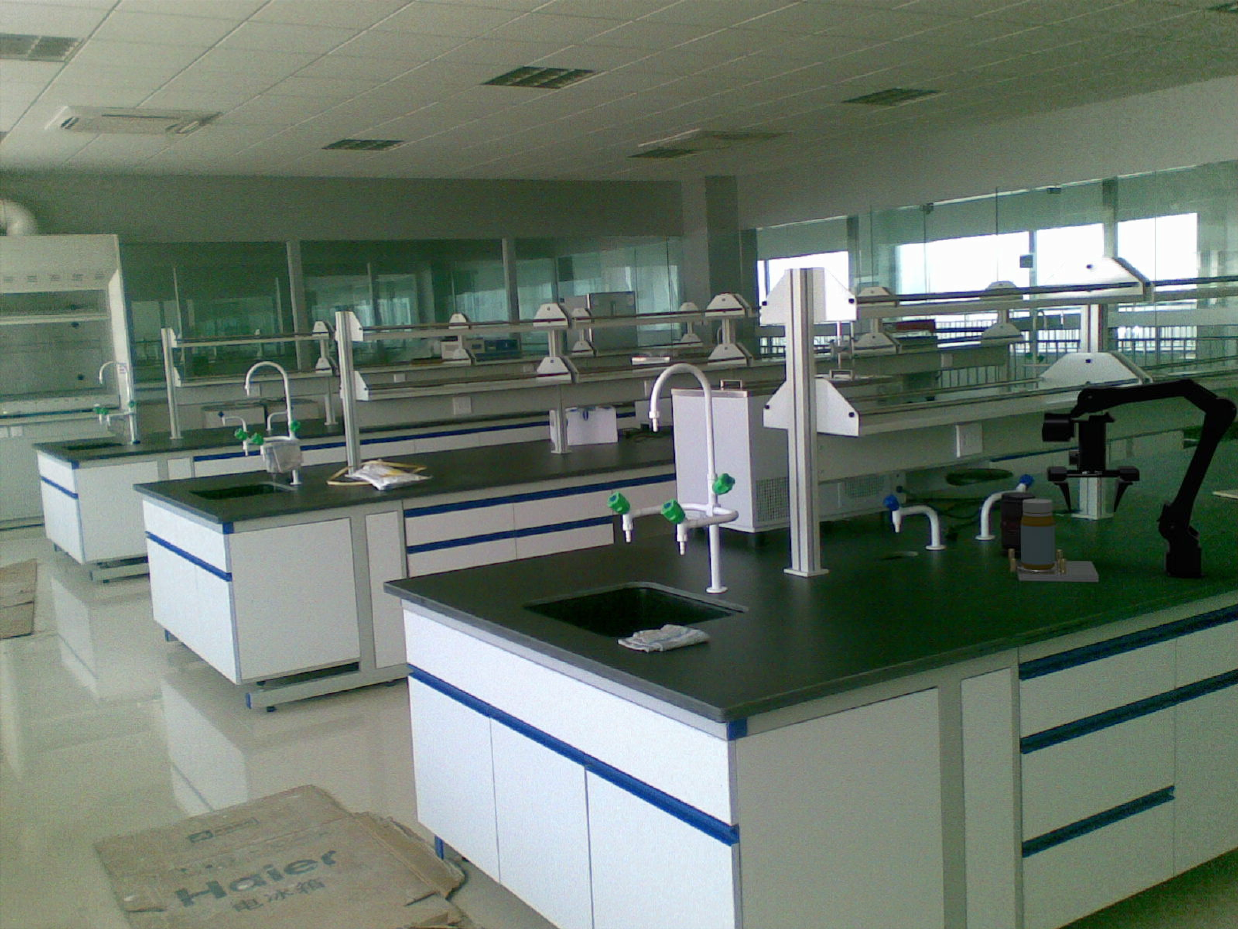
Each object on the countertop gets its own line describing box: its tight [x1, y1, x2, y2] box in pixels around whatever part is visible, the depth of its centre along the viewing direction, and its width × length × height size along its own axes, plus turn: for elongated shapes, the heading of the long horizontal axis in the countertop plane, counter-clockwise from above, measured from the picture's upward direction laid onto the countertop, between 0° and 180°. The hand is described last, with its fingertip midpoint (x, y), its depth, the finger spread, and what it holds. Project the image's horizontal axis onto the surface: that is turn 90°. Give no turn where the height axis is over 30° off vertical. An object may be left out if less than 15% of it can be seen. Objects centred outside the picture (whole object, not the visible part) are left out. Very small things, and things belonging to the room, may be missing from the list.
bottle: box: [1020, 498, 1056, 570], centre depth 241 cm, size 7×7×15 cm
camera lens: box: [999, 491, 1036, 559], centre depth 261 cm, size 8×8×15 cm
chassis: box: [1008, 548, 1099, 583], centre depth 241 cm, size 18×14×4 cm
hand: (1091, 511), depth 243 cm, fingers open, 9 cm apart
